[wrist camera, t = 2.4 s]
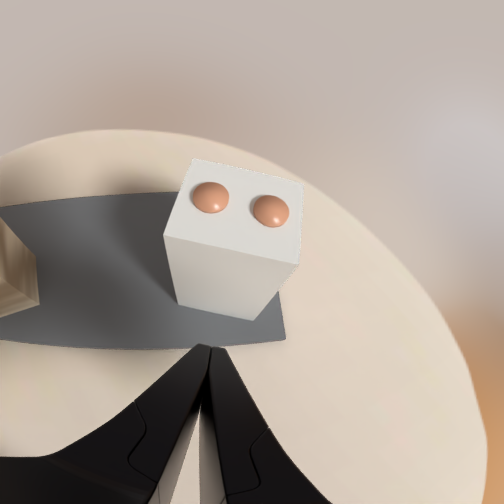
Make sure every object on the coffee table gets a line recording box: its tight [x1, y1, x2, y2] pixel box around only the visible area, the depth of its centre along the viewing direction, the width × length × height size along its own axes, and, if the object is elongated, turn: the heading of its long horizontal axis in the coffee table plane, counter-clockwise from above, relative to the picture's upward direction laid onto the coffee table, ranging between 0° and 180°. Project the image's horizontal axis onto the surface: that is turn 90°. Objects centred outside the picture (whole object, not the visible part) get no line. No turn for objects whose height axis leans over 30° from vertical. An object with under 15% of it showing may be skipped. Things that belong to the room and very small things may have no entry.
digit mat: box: [0, 192, 286, 349], centre depth 18 cm, size 26×12×1 cm, turn 97°
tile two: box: [163, 158, 304, 321], centre depth 15 cm, size 4×5×9 cm
